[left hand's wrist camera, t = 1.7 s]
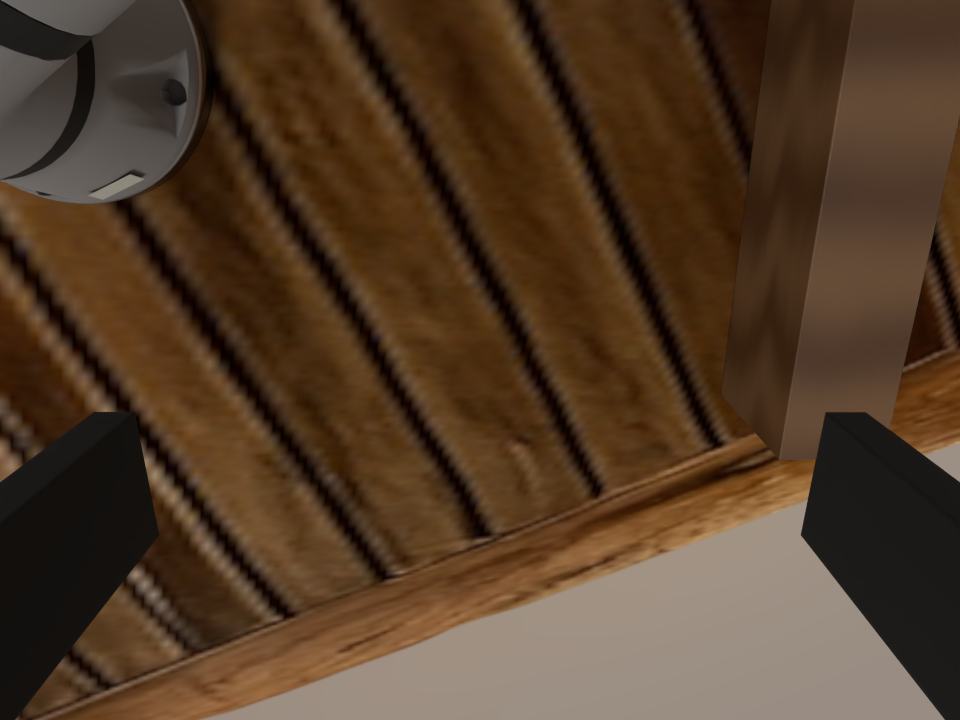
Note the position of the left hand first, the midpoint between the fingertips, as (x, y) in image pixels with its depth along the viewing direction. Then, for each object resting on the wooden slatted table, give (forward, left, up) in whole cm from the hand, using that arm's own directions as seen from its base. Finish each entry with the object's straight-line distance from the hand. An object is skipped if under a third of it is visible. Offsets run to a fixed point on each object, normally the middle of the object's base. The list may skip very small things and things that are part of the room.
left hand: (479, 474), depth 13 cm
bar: (+7, +18, -29) cm, 35 cm away
